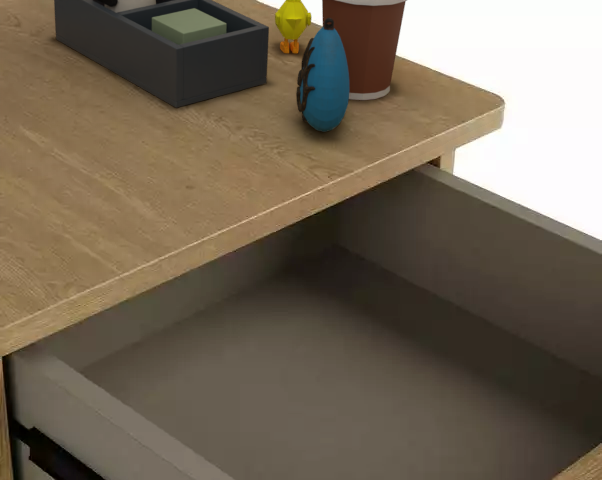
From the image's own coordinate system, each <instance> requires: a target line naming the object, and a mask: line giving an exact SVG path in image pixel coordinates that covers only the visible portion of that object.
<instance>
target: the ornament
mask: <svg viewBox="0 0 602 480" xmlns="http://www.w3.org/2000/svg"><path fill="white" fill-rule="evenodd" d="M328 22H331V24H327V23H328ZM300 64H301V65H300V67H301V68H300V69H299V71H298V73H297V78H296V79H297V80H296V81H297V82H296V84H297V87H296V93H295V98H296V99H295V100H296V105H297V110H298V112H299V113H301V120H302V122H307V123H308V124H309V126H311V127H312V128H314V130H316V131H319V132H323V133H326V132H330V131H332V130H334V129H335V128H337V127H338V126H339V125H340V124H341V122H342V121H343V119H344V117H345V115H346V112H347V109H348V105H349V100H350V99H349V72H348V65H347V59H346V55H345V51H344V47H343V44H342V41H341V38H340V36H339V34H338V32H337V31H336V30H335V28H334V20H333V19H332V18H327V19H326V20H325V22H324V27H323V26H322V27H320V28H319V30H318V31H317V32H316V33H315V35H314V37H311V38H310V39H309V40H308V43H307V45H306V48H305V50H304V52H303V55H302V58H301V63H300Z"/></svg>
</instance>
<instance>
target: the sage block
mask: <svg viewBox="0 0 602 480" xmlns="http://www.w3.org/2000/svg"><path fill="white" fill-rule="evenodd" d="M226 25H227V24H226V23H224V22H222V21H220V20H218V19H216V18H214V17H212V16H210V15H208V14H206V13H204V12H201V11H199V10H197V9H195V8H193V9H188V10H184V11H179V12H175V13H170V14H166V15H161V16H157V17H152V31H153V32H155V33H156V34H158V35H160V36H162V37H164V38H166V39H168V40H170V41H172V42H174V43H176V44H178V45H179V44H184V43H188V42H192V41H196V40H201V39H205V38H209V37H213V36H217V35H222V34H226Z"/></svg>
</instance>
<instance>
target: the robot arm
mask: <svg viewBox="0 0 602 480" xmlns="http://www.w3.org/2000/svg"><path fill="white" fill-rule="evenodd" d="M98 1H100V2H102V3H104V4H106V5H108V6H110V7H112V6H116V4H117V0H98Z"/></svg>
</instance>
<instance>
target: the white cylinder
mask: <svg viewBox="0 0 602 480" xmlns="http://www.w3.org/2000/svg"><path fill="white" fill-rule="evenodd" d="M154 4H156V0H117V4H116V6H112V7H110V6H108V5H106V4H105V7H106V8H108V9H110V10H112V11H114V12H116V13H117V12H122V11H126V10H131V9H136V8H140V7H145V6H150V5H154Z"/></svg>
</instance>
